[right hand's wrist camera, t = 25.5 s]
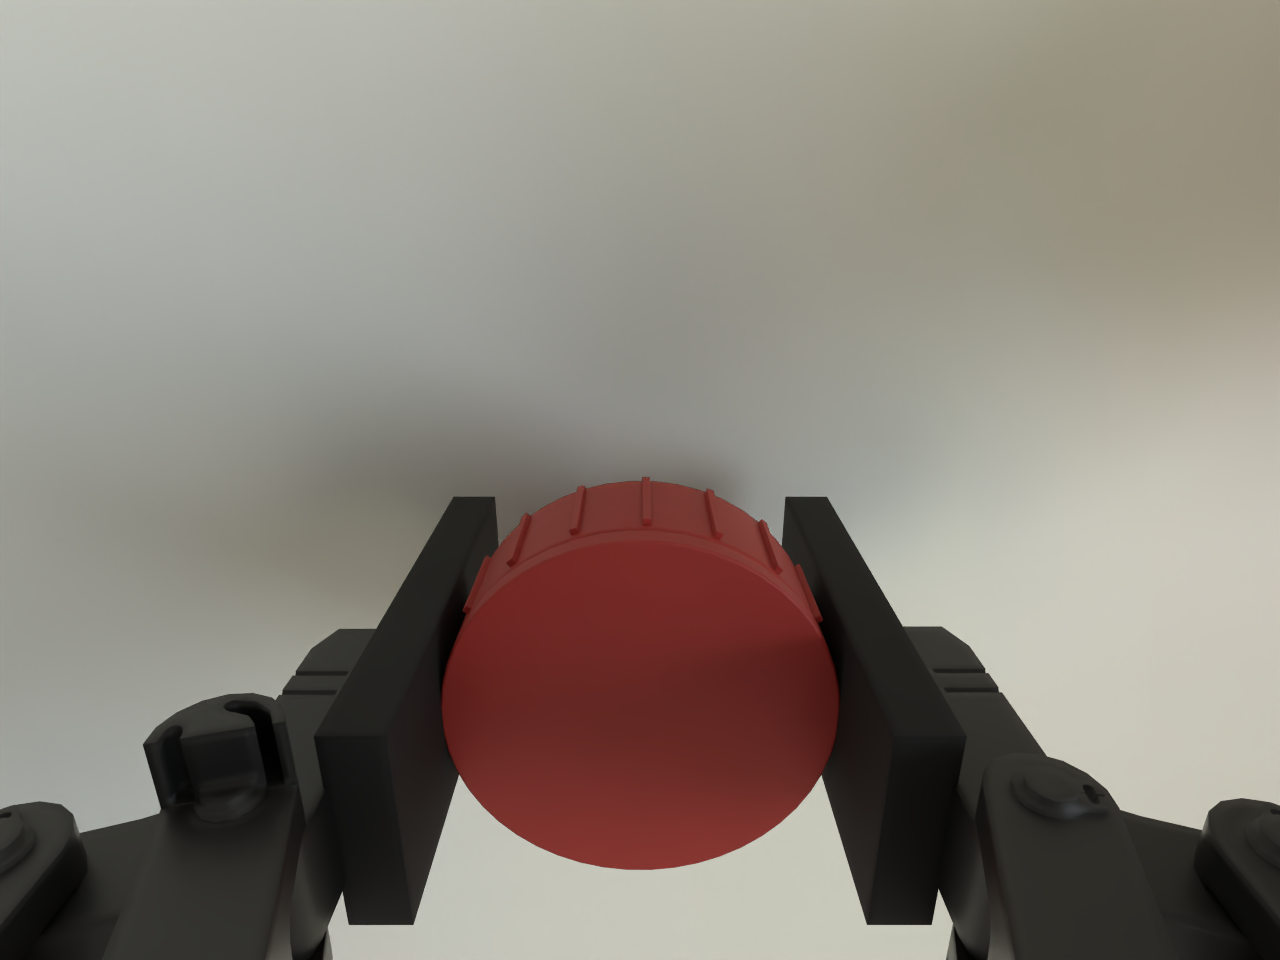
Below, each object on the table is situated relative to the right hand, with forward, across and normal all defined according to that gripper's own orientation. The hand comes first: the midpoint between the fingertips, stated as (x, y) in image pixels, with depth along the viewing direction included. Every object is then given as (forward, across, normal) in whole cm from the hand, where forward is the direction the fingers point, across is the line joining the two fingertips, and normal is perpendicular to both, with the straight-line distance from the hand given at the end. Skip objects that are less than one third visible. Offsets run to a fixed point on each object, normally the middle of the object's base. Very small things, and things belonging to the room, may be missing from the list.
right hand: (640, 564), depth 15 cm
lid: (-4, 0, 0) cm, 4 cm away
